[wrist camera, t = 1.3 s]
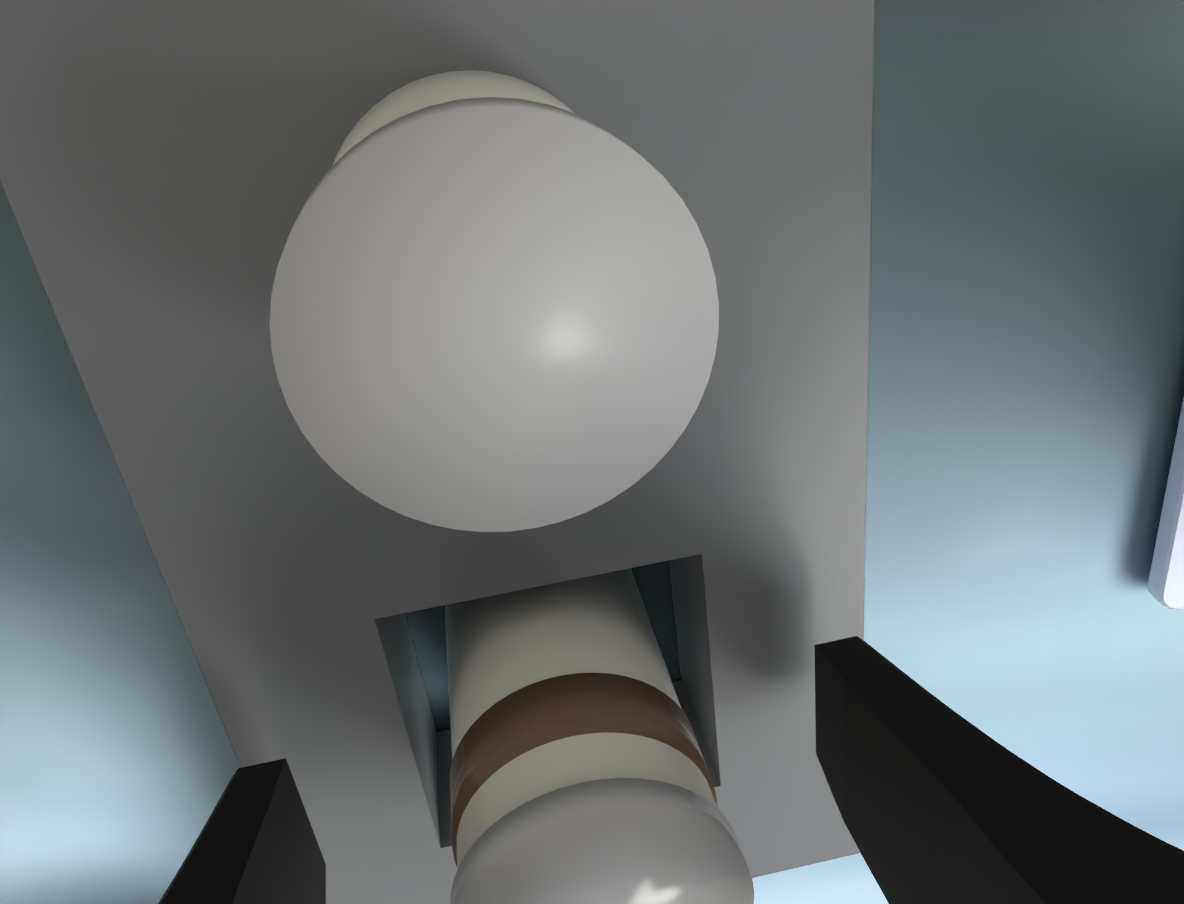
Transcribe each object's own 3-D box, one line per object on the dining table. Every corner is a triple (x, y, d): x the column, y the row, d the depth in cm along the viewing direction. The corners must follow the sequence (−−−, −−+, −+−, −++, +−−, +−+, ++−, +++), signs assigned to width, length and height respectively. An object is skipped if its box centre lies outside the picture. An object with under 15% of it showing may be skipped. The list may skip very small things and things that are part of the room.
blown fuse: (631, 499, 15) (747, 784, 10) (651, 663, 17) (759, 982, 12) (419, 540, 15) (423, 856, 10) (459, 703, 17) (481, 1050, 11)
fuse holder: (786, -282, 11) (1140, -512, 6) (806, 746, 18) (964, 1062, 13) (-39, -184, 10) (-540, -342, 5) (337, 849, 18) (305, 1230, 12)
